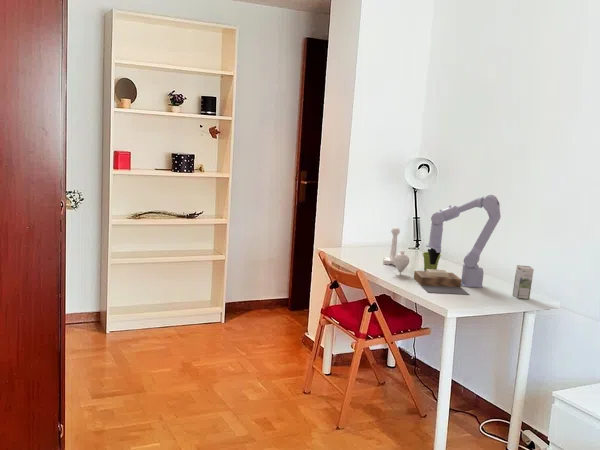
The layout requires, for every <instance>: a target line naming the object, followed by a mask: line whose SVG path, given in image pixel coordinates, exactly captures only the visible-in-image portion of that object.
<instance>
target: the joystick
mask: <svg viewBox="0 0 600 450" xmlns="http://www.w3.org/2000/svg"><path fill="white" fill-rule="evenodd" d="M390 231H391V232H390V233H391V234H392V241H391V246H390V247H391V249H390V255H389V257H383V260H382V263H383V264H384V265H386V264H387V266H389V265H393V266H395V263H394V257H395V256H396V255H397V248H398V247H397V245H398V237H399V235H400V233H401V230H400V228H399V227H398V226H393V227H392V228H391V230H390Z"/></svg>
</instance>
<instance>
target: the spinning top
mask: <svg viewBox="0 0 600 450" xmlns="http://www.w3.org/2000/svg"><path fill="white" fill-rule="evenodd" d="M394 263H395V265H394V266H395V267H396V269H397V271H398V273H399V275H401V273H403V271H404V270H406V268H407V267H408V265H409V264H410V257H409V256H408V254H406V253H405V250H400V252H399V253H396V256H395V257H394Z"/></svg>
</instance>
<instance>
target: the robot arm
mask: <svg viewBox="0 0 600 450" xmlns="http://www.w3.org/2000/svg"><path fill="white" fill-rule="evenodd" d="M500 206H501V205H500V202H499V200H498V198H497V196H496V195H493V194H489V195H486V196H481V197H477V198H475V199H473V200H470V201H468V202H466V203H463V204H461V205H459V206H457V205H452V204H450V205H448V207H446V208H444V209H439V211H436V212H435V213H433V214H432V215H431V217H430V219H431V220H430V221H431V224H430V225H431V226H430V231H429V232H430V233H429V242H428V244H426V247H427V248H428V249H427V252H428V253H429V257H430V264H432V265H435V264H436V261H437V258H438V256H439V255H441V253H442V239H443V231H444V228H443V227H444V222H448V221H451V220H453V219H456V218H458V217H460V214H461V213H464V212H466V211H469V210H472V209H474V208H480V209H484V210H485V211H486V213H487V215H488V220H487V221H486V223H485V225H484V226H483V228H482V230H481V232H480V234H479V236H478V238H477V239H476V241H475V243H474V244H473V246H472V248H471V250H470V251H469V252H467V254H466V256H465V257H464V258H463V265H462V271H461V278H460V279H462V280H461V286H462V287H466V288H483V280H484V269H483V267H479V265H478V263H479V261H480V256H481V254H482V252H483V250H484V248H485V247H486V244H487V243H488V241H489V239H490V238H491V236H492V233H494V232H493V231H494V230H495V228H496V227H497V225H498V223H499V222H500V220H501V207H500Z"/></svg>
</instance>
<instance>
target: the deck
mask: <svg viewBox="0 0 600 450" xmlns="http://www.w3.org/2000/svg"><path fill="white" fill-rule="evenodd" d="M413 279H414V281H416V282H417V283H418V285H420V286H421V285H429V286H448V287H461V286H462V285H461V280H462V279H461V278H460V277H459V276H457V274H455V273H454V272H448V277H434V276H429V275H427V274H426V270H414V272H413ZM461 288H462V287H461Z"/></svg>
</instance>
